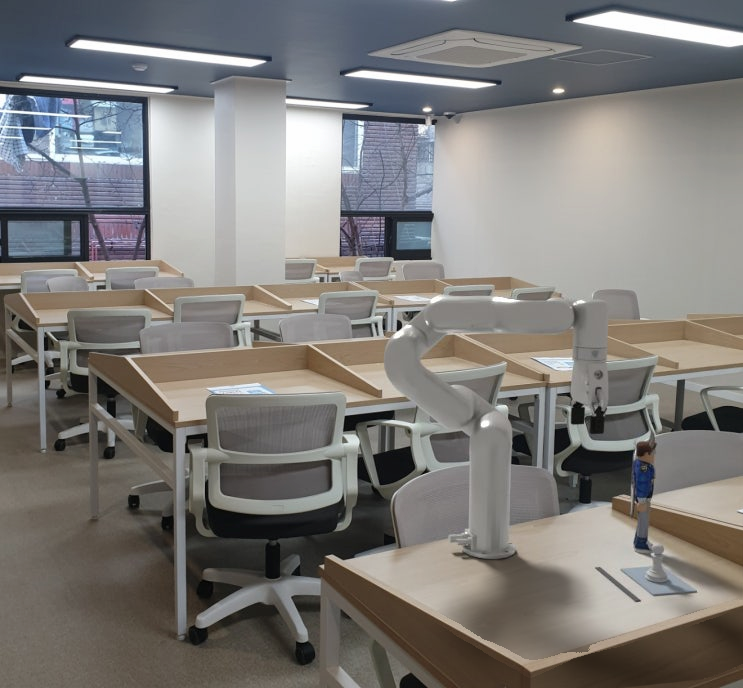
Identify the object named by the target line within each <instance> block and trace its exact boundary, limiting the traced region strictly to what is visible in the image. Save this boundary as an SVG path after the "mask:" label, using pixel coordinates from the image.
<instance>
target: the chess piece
mask: <svg viewBox="0 0 743 688" xmlns="http://www.w3.org/2000/svg"><path fill="white" fill-rule="evenodd" d="M652 551H653V552H654V553H650V556H651V557H652V565H651V566H652V567H651V568H650V569H649V570H648V571H646V575H645V577H646V579H647V580H649V581H651V582H655V583H664V582H666V581H667V580H668V578H667V573H666V572H664V570H663V568H662V566H663V565H662V563H663V558H665V555H664V554H663V553H664V552H665V547H664V545H663V544H662V543H658V542H656V543H653V546H652Z"/></svg>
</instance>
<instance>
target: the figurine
mask: <svg viewBox="0 0 743 688" xmlns="http://www.w3.org/2000/svg"><path fill="white" fill-rule="evenodd" d="M648 426H649V430H650V433H649V434H650V436H649V438H648V439H647V440H646V441H645V440H643V441H638V442H637V437H635V438H634V442H633V455H632V467H631V468H632V469H631V480H630V481H631V484H630V505H631V506H630V519H631V520H632V519H633V517H634V515H635V514H634V513H635V505H636V510H637V521H636V522H637V525H636V527H635V533H634V534H635V535H634V538H633V544H632V545H633V546H632V548H633V551H634V552H635V553H638V554H651V553H654V552H653V551H652V546H653V544H654V543H653V542H651V541H649V539H648V538H649V537H648V536H649V527H650V519H651V517H650V516H651V504H652V503H651V501H652V498H653V494H654V489H655V487H654V486H655V479H657V478H656V477H657V476H656V475H657V468H656V464H655V454H657V451H656V447H657V445H658V443H657V442H656V437H655V433H654V431H653V429H652V427H651V426H650V425H648ZM635 454H636V459H635Z"/></svg>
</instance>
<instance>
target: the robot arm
mask: <svg viewBox="0 0 743 688" xmlns="http://www.w3.org/2000/svg"><path fill="white" fill-rule="evenodd" d="M609 308H610V306H609V303H608V302H607V301H606V300H603V299H593V298H592V299H591V298H586V299H583V298H582V299H572V298H571V299H570V298H564V297H552V298H548V299H547V300H521V299H520V300H519V299H511V298H510V299H509V298H505V297H503V296H502V297H501V296H497V295H496V296H495V295H472V296H471V295H470V296H469V295H466V296H465V295H450V294H447V293H446V294H444V293H443V294H439V295H436V296H434V297H433V298H431V299H430V300H429V301H428V302H427V303H426V305H425V307H424V308H423V309H421V311H420V312H419V313H417V314H416V315H415V316H413V318H412V319H411V320H409V321H408V322H407V324H405V325H404V326H403V327H402V328H401V329H399V330H398V331H396V332H395V333H394V334H392V335H391V337H390V338H388V341H387V343H386V345H385V348H384V354H383V367H384V372H385V374H386V377H387V378H388V381H389V382H390V383H391V385H392V386H393V387H394V388H395V389H396V390H397V391H398V392H399V393H400V394H401V395H403V396H404V397H405V398H406V399H408V400H409V401H410V402H411V403H413V404H414V405H416V406H417V407H418V408H419V409H420V410H422V411H423V412H424V413H426V414H427V415H428V416H429V417H431V418H432V419H433V420H435V421H436V422H437V423H438V424H439V425H441V426H442V427H443V428H445V429H447V430H449V431H460V430H461V431H462V432H463V433H464V434H465V435H467V436H469V446H468V447H469V450H468V452H469V478H468V479H469V491H468V492H469V495H468V497H469V499H468V500H469V501H468V503H469V505H468V528H464V532H461V533H459V534H456V533H455V534H448V536H447V538H448V539H447V540H448V544H451V543H452V544H453V543H456V545H457V546H461V550H462V551H463V553H465V554H467V555H468V556H471V557H475V558H478V559H485V560H486V559H487V560H499V559H505V558H509V557H511V556H512V555H515V552H516V545H515V544H514V543H513V542H512V541H510V518H511V517H510V514H511V513H510V512H511V511H510V509H511V508H510V507H511V472H512V471H511V469H512V448H513V447H512V445H513V426H512V424H511V421H510V420H509V418H508V417H507V416H506V415H505V414H504V413H503V412H502V411H501V410H499V409H498V408H496V407H494V405H492V404H491V403H490V402H488V401H487V400H485V399H484V398H483V397H481V396H480V395H479V394H478V393H476V392H475V391H474V390H472V389H471V388H468V387H466V386H465V385H461V384H452V385H451V384H449V383H448V382H446V381H444V380H443V379H442V378H441V377H440V376H438V375H437V374H436V373H434V372H433V371H431V370H430V369H428V368H426V366H425V365H424V364H423V363H422V362H421V359H422V358H423V357H424V356H425V355H426V354H427V353H428V352H429V351H430V350H431V349H433V348H434V347H435V345H437V344H438V343H439V342H440V341H441V340H442V339H443V338H444V337H446V335H447V334H448V333H449V334H463V333H464V334H476V333H477V334H501V335H502V334H503V335H506V334H509V335H510V334H512V335H513V334H515V335H559V334H564V333H565V332H568V331H569V330H570V329H572V331H573V333H572V335H573V336H572V358H571V359H572V361H573V363H572V373H571V381H570V382H571V385H570V386H569V393H570V394H569V395H570V396H569V399H570V401H571V402H570V424H571V425H573V426H575V425H577V426H578V425H585V419H586V417H585V415H586V407H589V410H590V413H591V415H590V416H589V429H588V430H589V431H588V432H589V434H591V435H600V434H601V435H602V434H604V433H605V417H606V412H607V410H608V408H607V406H608V404H609V372H608V364H607V361H608V360H607V359H608V339H609V338H608V335H609V334H608V333H609V314H610V313H609V311H610V310H609ZM585 406H586V407H585Z"/></svg>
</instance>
